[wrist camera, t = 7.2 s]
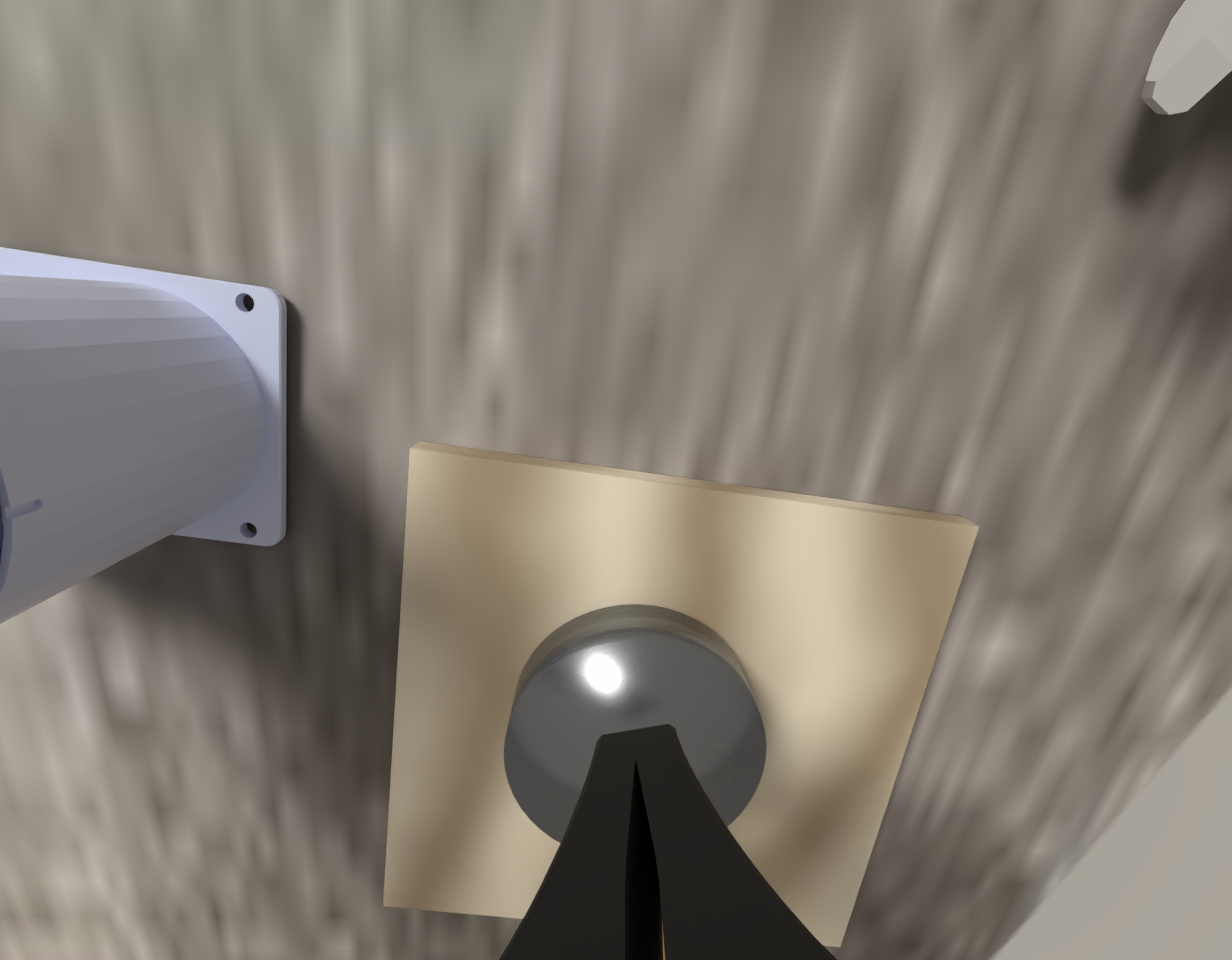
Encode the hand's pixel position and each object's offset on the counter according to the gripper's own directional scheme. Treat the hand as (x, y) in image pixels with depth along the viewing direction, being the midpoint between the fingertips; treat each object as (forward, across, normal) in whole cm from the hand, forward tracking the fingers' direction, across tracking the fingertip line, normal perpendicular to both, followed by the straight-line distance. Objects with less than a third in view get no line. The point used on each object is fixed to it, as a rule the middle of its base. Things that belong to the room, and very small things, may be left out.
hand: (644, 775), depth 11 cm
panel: (+10, 0, +6) cm, 12 cm away
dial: (+9, +1, +8) cm, 11 cm away
